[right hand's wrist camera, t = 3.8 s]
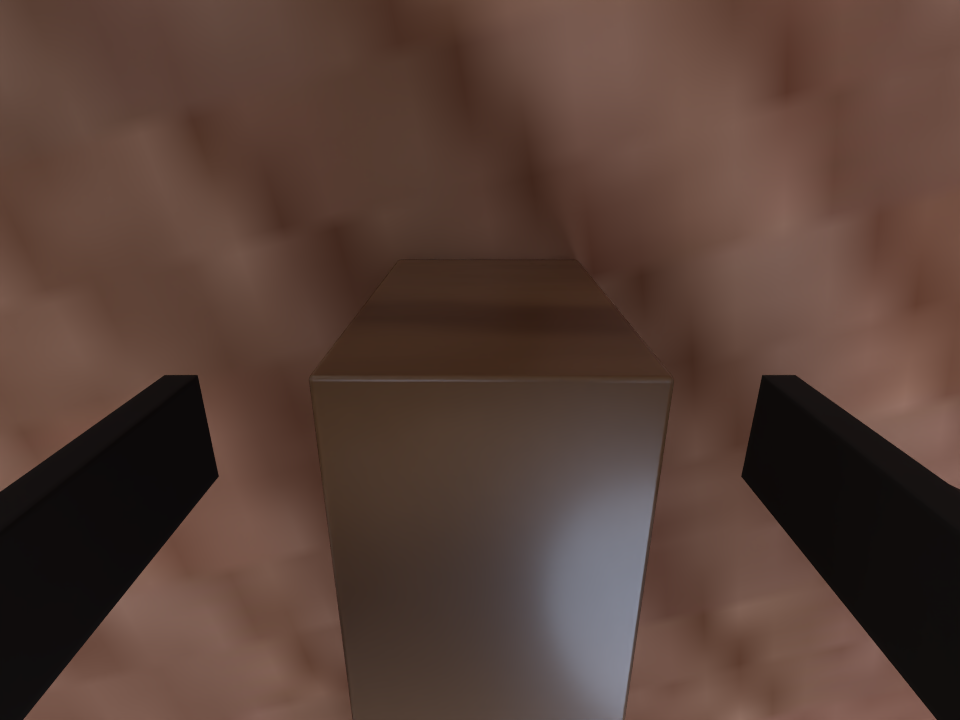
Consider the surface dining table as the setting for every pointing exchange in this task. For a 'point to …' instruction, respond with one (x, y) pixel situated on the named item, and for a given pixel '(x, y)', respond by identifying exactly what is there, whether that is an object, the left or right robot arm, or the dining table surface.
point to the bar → (490, 491)
